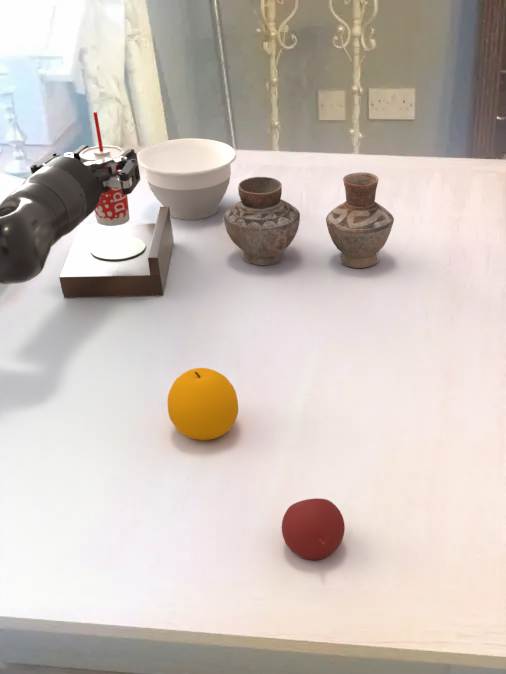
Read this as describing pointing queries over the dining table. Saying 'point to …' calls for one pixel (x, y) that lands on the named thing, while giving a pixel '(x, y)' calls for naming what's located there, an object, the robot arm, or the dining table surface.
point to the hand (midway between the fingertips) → (109, 154)
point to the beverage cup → (112, 202)
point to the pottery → (283, 221)
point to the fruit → (313, 528)
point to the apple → (202, 404)
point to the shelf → (119, 259)
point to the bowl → (188, 175)
